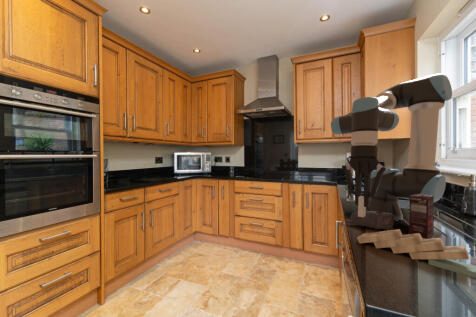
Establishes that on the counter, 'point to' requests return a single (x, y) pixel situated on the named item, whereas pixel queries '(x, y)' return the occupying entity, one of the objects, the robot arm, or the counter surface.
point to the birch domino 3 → (421, 246)
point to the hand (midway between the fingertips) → (361, 216)
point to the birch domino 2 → (401, 241)
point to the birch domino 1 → (380, 236)
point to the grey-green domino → (455, 266)
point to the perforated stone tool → (374, 220)
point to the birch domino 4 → (442, 253)
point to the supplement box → (421, 215)
